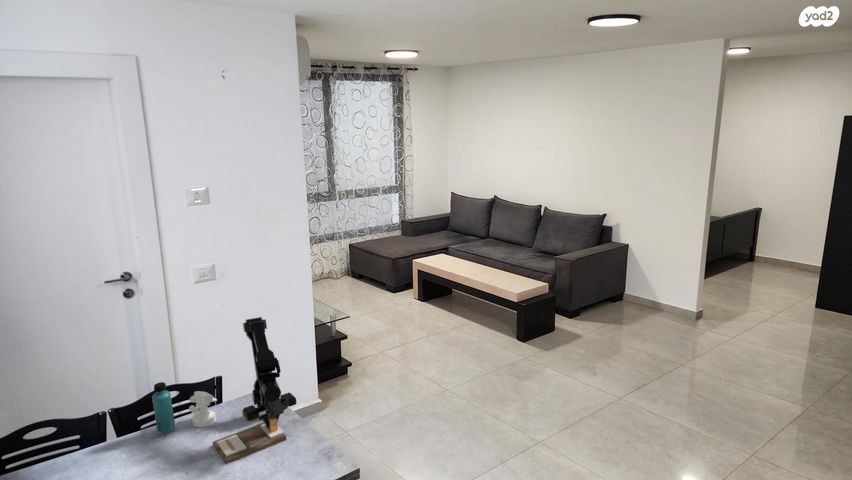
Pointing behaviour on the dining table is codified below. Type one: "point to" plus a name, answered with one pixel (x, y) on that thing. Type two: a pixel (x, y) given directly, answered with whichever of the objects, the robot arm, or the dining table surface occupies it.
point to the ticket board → (245, 443)
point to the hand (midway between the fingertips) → (271, 426)
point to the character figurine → (202, 409)
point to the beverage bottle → (163, 408)
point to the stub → (272, 427)
